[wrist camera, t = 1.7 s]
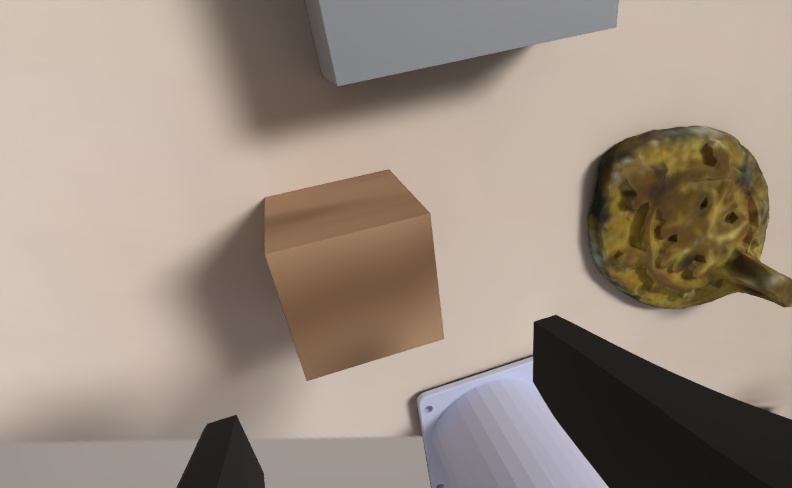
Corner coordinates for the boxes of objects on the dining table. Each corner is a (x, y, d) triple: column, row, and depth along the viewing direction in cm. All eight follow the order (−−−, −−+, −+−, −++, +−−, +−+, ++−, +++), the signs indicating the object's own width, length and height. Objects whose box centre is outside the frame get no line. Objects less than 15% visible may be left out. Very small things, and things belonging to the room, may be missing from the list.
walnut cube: (404, 272, 19) (444, 338, 15) (296, 301, 19) (306, 380, 14) (388, 168, 17) (430, 213, 13) (264, 196, 16) (264, 254, 12)
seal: (523, 231, 22) (678, 316, 28) (574, 285, 18) (739, 370, 24) (656, 67, 19) (796, 205, 25) (752, 88, 15) (890, 245, 21)
